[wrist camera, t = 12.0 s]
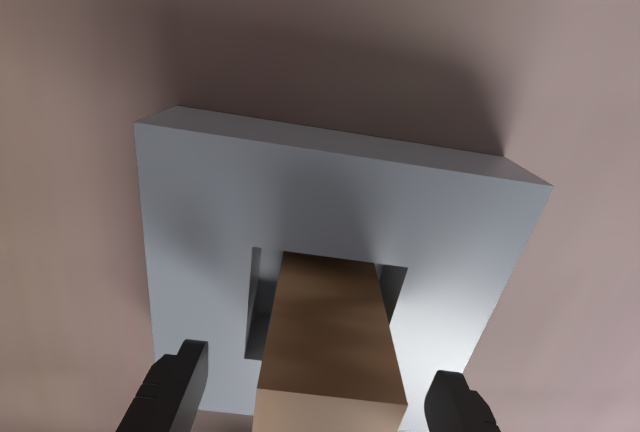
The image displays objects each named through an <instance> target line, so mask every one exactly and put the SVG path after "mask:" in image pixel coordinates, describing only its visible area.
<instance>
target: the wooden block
mask: <svg viewBox="0 0 640 432" xmlns="http://www.w3.org/2000/svg"><path fill="white" fill-rule="evenodd" d="M407 407H408V402H407V398H406V394H405V390H404V386H403V381H402V377H401V373H400V369H399V365H398V360H397V356H396V352H395V348H394V344H393V340H392V335H391V331H390V327H389V323H388V319H387V314H386V310H385V306H384V302H383V298H382V293H381V289H380V285H379V281H378V277H377V272H376V268H375V264H374V263H371V262H363V261H356V260H348V259H341V258H333V257H326V256H319V255H311V254H304V253H296V252H289V251H284V252H283V257H282V262H281V267H280V272H279V277H278V282H277V287H276V292H275V297H274V302H273V308H272V313H271V318H270V323H269V328H268V333H267V338H266V343H265V348H264V353H263V358H262V364H261V369H260V374H259V379H258V384H257V389H256V398H255V408H254V417H253V426H252V432H397V431H398V428H399V426H400V424H401V421H402V419H403V417H404V414H405V412H406V409H407Z"/></svg>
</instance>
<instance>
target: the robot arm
mask: <svg viewBox="0 0 640 432" xmlns="http://www.w3.org/2000/svg"><path fill="white" fill-rule="evenodd" d="M208 350H209V344H208V341H200V340H192V339H185V340H184V341H183V343H182V345H181V347H180V349H179V351H178V353H177V355H171V354H164V355H163V356H162V357H161V358H160V359H159V360H158V361H157V362H156V363H154V364H153V365H152V366H151V368H150V370H149V372H148V373H147V375H146V377H145V379H144V381H143V384H142V385H141V386H140V388H139V390H138V392H137V394H136V397H135V398H134V399H133V401H132V403H131V404H130V406H129V408H128V410H127V412H126V414H125V415H124V417H123V419H122V421H121V423H120V425H119V426H118V428H117V430H116V432H190V430H191V427H192V424H193V421H194V419H195V416H196V413H197V410H198V407H199V404H200V402H201V399H202V396H203V393H204V390H205V387H206V383H207V378H208ZM424 413H425V418H426V422H427V425H428V429H429V432H501V431H500V429H499V427H498V426H497V425H496V420H495V418H494V416H493V414H492V412H491V410H490V407H489V406H488V404H487V403H486V402H485V401H484V399H483V398H482V397H481V396H480V395H479V393H478V392H477V391H473V390H470V389H469V387H468V385H467V382H466V380H465V378H464V376H463V374H462V373H460V372H453V371H445V370H438V371H437V372H436V374H435V376H434V378H433V381H432V383H431V385H430V387H429V390H428V392H427V394H426V397H425V401H424Z"/></svg>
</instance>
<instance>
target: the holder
mask: <svg viewBox="0 0 640 432" xmlns="http://www.w3.org/2000/svg"><path fill="white" fill-rule="evenodd" d="M133 125H134V136H135V147H136V158H137V169H138V180H139V191H140V202H141V212H142V223H143V234H144V245H145V256H146V267H147V278H148V289H149V299H150V310H151V321H152V332H153V343H154V354H155V363H156V362H157V361H158V360H159V359H160V358H161V357H162V356H163V355H164V354H171V355H177V353H178V351H179V349H180V347H181V345H182V343H183V341H184V340H185V339H192V340H200V341H208V344H209V350H208V378H207V383H206V387H205V390H204V393H203V396H202V399H201V402H200V404H199V407H198V410H205V411H215V412H224V413H234V414H244V415H253V416H254V408H255V398H256V389H257V384H258V379H259V374H260V369H261V364H262V358H263V353H264V348H265V343H266V338H267V333H268V328H269V323H270V318H271V313H272V308H273V302H274V297H275V292H276V287H277V282H278V277H279V272H280V267H281V262H282V257H283V252H284V251H289V252H296V253H304V254H311V255H319V256H326V257H333V258H341V259H348V260H356V261H363V262H371V263H374V264H375V268H376V272H377V277H378V281H379V285H380V289H381V293H382V298H383V302H384V306H385V310H386V314H387V319H388V323H389V327H390V331H391V335H392V340H393V344H394V348H395V352H396V356H397V360H398V365H399V369H400V373H401V377H402V381H403V386H404V390H405V394H406V398H407V402H408V407H407V409H406V412H405V414H404V417H403V419H402V421H401V424H400V426H399V428H398V431H407V432H429V429H428V425H427V422H426V418H425V413H424V401H425V397H426V394H427V392H428V390H429V387H430V385H431V383H432V381H433V378H434V376H435V374H436V372H437V371H438V370H445V371H453V372H460V373H462V372H463V370H464V368H465V366H466V364H467V362H468V360H469V358H470V356H471V354H472V352H473V350H474V348H475V346H476V344H477V342H478V340H479V338H480V336H481V334H482V332H483V330H484V328H485V326H486V324H487V322H488V320H489V318H490V316H491V314H492V312H493V310H494V308H495V305H496V303H497V301H498V299H499V297H500V295H501V293H502V291H503V289H504V287H505V285H506V283H507V281H508V279H509V277H510V275H511V273H512V271H513V269H514V267H515V265H516V263H517V261H518V259H519V257H520V255H521V253H522V251H523V249H524V247H525V245H526V243H527V241H528V239H529V237H530V235H531V233H532V231H533V229H534V227H535V225H536V223H537V221H538V219H539V217H540V215H541V213H542V211H543V209H544V207H545V205H546V203H547V200H548V198H549V196H550V194H551V192H552V190H553V188H554V186H553V185H551V184H549V183H548V182H546V181H544V180H543V179H541V178H539V177H538V176H536V175H534V174H533V173H531V172H529V171H527V170H526V169H524V168H522V167H521V166H519V165H517V164H516V163H514V162H512V161H511V160H509V159H507V158H506V157H502V156H495V155H489V154H483V153H476V152H470V151H464V150H457V149H451V148H444V147H438V146H432V145H425V144H419V143H412V142H406V141H400V140H393V139H387V138H381V137H374V136H368V135H361V134H355V133H349V132H342V131H336V130H330V129H323V128H317V127H310V126H304V125H298V124H291V123H285V122H279V121H272V120H266V119H259V118H253V117H247V116H240V115H234V114H227V113H221V112H215V111H208V110H202V109H196V108H189V107H183V106H174V107H171V108H169V109H166V110H164V111H161V112H158V113H156V114H153V115H151V116H148V117H145V118H143V119H140V120H138V121H135V122H133Z"/></svg>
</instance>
